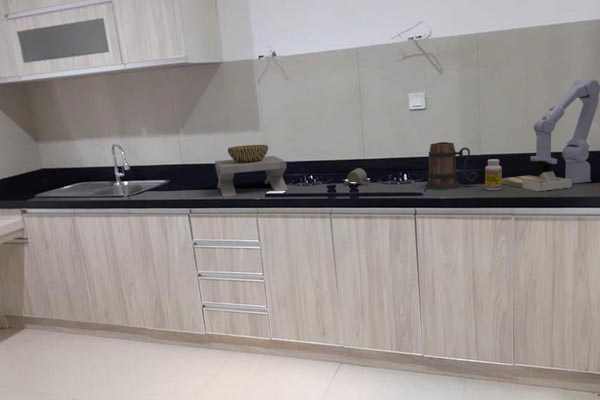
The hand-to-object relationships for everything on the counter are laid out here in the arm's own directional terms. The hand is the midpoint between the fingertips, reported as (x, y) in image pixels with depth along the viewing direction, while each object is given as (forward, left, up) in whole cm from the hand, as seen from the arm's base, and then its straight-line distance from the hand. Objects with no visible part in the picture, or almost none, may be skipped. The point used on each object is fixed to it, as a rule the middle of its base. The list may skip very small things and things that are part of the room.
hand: (543, 178), depth 236 cm
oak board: (+3, -8, -3) cm, 9 cm away
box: (+3, +6, -3) cm, 7 cm away
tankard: (+33, -21, -3) cm, 39 cm away
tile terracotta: (+6, +4, -2) cm, 8 cm away
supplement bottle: (+22, -4, -3) cm, 23 cm away
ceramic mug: (+65, -53, -3) cm, 84 cm away
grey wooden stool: (+116, -75, -3) cm, 138 cm away
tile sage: (0, +2, 0) cm, 2 cm away
